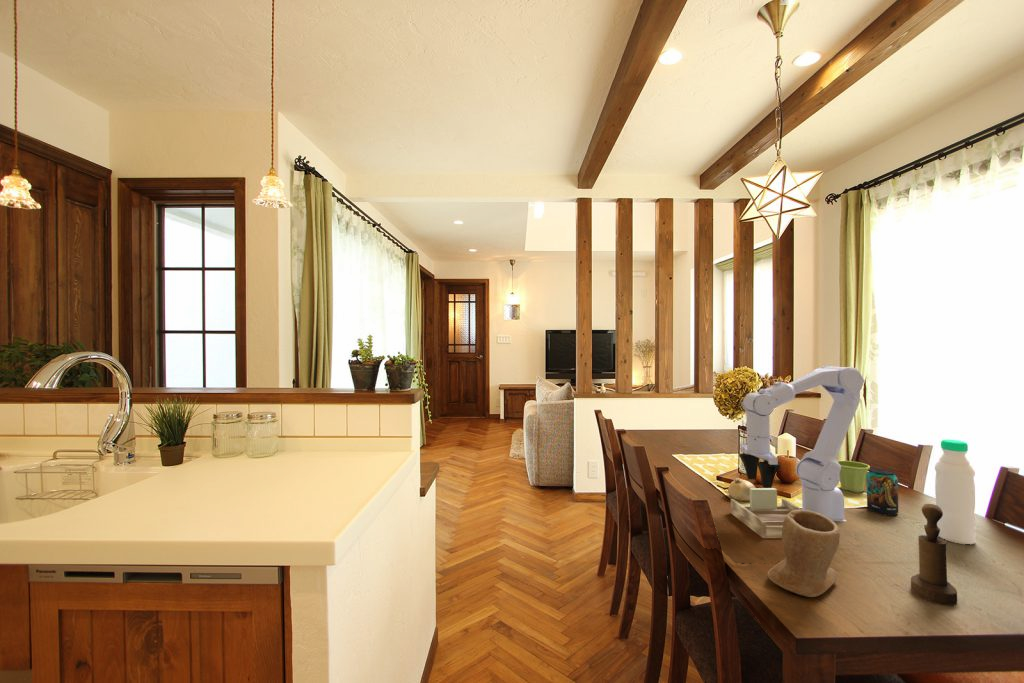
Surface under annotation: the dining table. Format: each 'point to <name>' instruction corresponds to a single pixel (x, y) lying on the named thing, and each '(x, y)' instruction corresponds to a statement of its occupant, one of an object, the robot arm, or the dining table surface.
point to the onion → (740, 489)
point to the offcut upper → (771, 517)
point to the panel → (763, 499)
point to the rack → (757, 524)
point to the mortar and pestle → (933, 562)
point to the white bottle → (955, 493)
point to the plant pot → (853, 475)
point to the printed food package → (882, 491)
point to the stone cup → (807, 553)
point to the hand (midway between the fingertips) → (759, 483)
